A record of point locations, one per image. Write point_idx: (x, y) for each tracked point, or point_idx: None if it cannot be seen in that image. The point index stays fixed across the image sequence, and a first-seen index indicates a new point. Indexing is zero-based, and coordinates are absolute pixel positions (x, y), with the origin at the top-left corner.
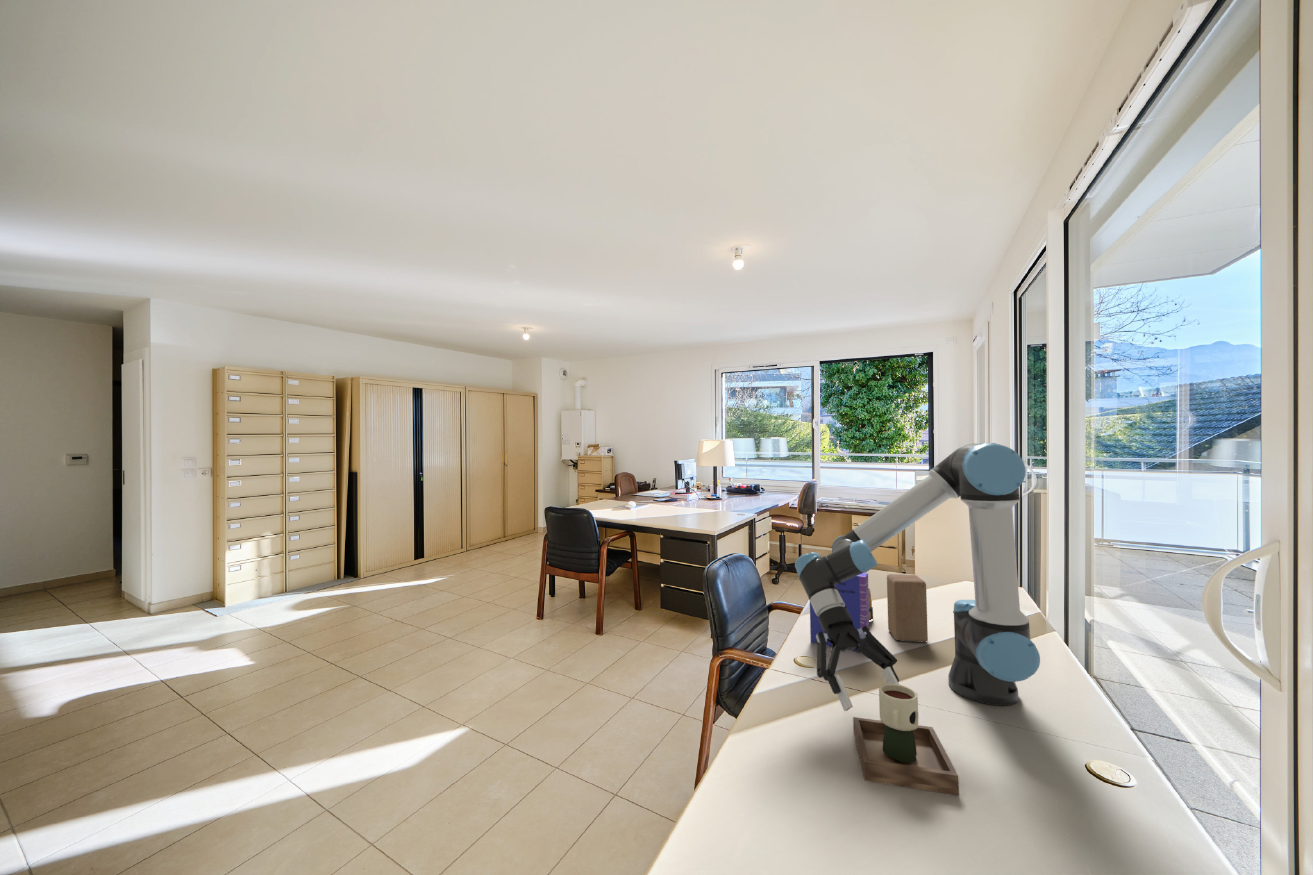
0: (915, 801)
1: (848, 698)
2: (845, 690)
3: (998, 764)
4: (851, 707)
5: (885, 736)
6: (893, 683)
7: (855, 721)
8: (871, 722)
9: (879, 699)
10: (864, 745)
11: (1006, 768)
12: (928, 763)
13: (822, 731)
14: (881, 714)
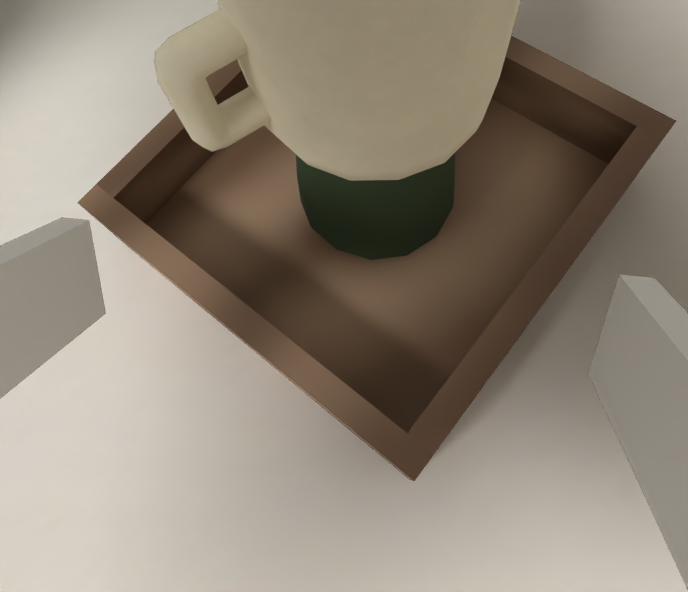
0: (520, 37)
1: (655, 308)
2: (685, 347)
3: (47, 68)
4: (610, 302)
5: (449, 167)
6: (3, 298)
7: (440, 429)
8: (342, 381)
9: (493, 30)
10: (575, 216)
11: (49, 47)
12: None
13: (587, 585)
14: (496, 76)
